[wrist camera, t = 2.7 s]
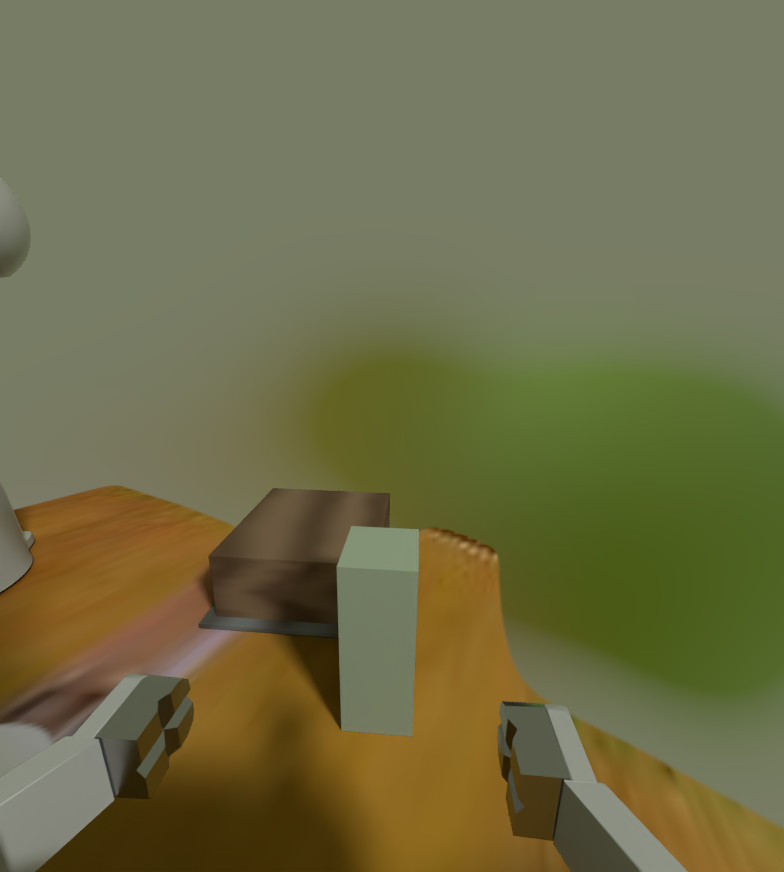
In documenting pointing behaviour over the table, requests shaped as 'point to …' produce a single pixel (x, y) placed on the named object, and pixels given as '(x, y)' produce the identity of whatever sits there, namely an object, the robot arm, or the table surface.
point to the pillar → (378, 629)
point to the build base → (288, 561)
